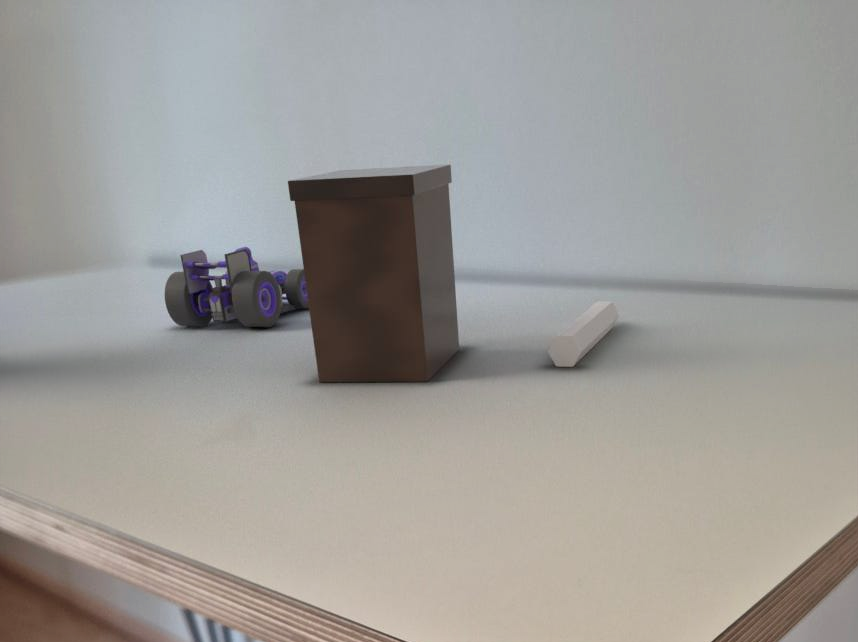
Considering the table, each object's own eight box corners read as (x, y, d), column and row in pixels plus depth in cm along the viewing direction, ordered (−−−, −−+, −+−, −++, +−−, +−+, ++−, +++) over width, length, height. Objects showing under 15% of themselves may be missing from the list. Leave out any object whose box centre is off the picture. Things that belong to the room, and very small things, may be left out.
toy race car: (335, 301, 98) (326, 232, 95) (259, 332, 86) (246, 254, 83) (254, 301, 102) (243, 234, 98) (169, 331, 89) (154, 256, 86)
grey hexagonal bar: (613, 330, 82) (568, 374, 69) (592, 317, 82) (543, 358, 69) (629, 302, 80) (586, 341, 67) (608, 289, 80) (561, 325, 67)
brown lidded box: (311, 383, 68) (282, 181, 62) (357, 350, 77) (336, 170, 71) (429, 382, 67) (412, 174, 60) (462, 348, 75) (450, 164, 69)
